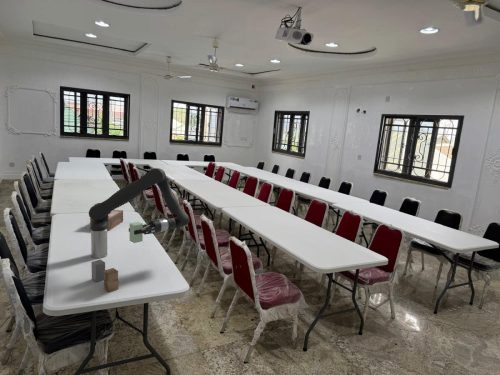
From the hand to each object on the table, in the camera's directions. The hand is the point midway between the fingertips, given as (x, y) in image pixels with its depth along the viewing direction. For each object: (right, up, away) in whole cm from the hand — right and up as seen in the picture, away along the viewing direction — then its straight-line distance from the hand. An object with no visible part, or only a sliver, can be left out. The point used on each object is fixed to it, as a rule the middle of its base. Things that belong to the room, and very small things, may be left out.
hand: (131, 231), depth 186 cm
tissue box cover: (-50, -7, +88) cm, 101 cm away
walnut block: (-7, -28, -11) cm, 31 cm away
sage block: (+1, -6, +3) cm, 7 cm away
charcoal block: (-17, -26, -2) cm, 31 cm away
